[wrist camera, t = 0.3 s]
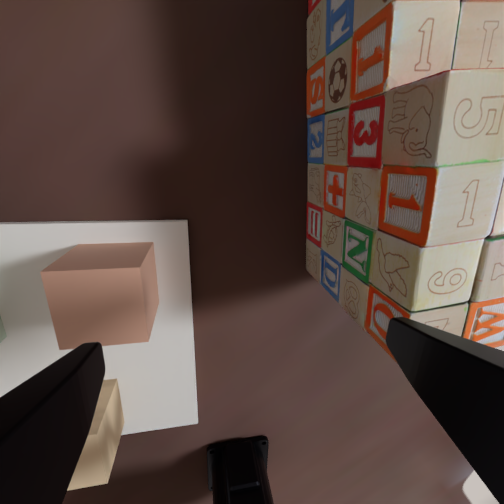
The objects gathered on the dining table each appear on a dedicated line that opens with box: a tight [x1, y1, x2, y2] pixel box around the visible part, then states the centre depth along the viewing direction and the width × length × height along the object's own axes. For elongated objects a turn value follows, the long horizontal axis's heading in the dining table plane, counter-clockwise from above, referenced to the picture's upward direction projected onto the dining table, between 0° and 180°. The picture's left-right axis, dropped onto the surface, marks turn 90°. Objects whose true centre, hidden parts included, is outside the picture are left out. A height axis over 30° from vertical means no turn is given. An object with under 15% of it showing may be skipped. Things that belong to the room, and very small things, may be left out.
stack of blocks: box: [306, 0, 504, 363], centre depth 15 cm, size 21×6×12 cm, turn 4°
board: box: [0, 220, 198, 435], centre depth 21 cm, size 20×24×1 cm
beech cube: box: [67, 379, 125, 491], centre depth 21 cm, size 5×5×5 cm
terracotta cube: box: [40, 242, 159, 350], centre depth 18 cm, size 5×5×5 cm
